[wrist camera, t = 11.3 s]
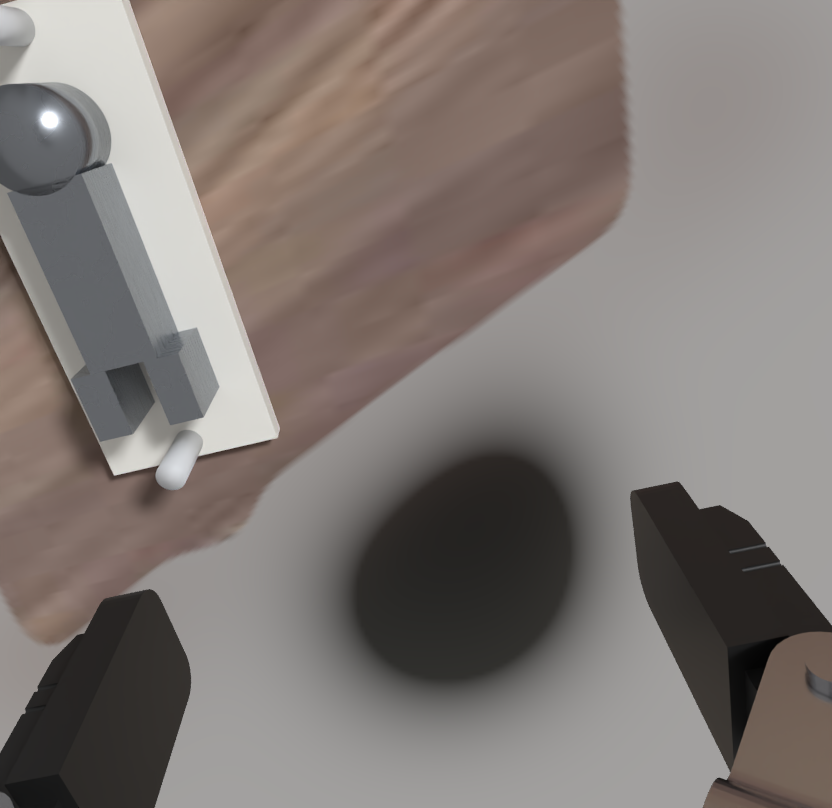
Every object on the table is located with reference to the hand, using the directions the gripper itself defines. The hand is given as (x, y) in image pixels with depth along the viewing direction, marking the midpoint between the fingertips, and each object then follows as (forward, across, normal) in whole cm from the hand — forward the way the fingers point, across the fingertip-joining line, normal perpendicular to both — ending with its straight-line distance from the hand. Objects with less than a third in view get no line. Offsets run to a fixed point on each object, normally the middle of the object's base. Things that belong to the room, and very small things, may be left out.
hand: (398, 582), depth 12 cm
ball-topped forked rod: (+28, +14, -2) cm, 32 cm away
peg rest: (+30, +14, -2) cm, 33 cm away
